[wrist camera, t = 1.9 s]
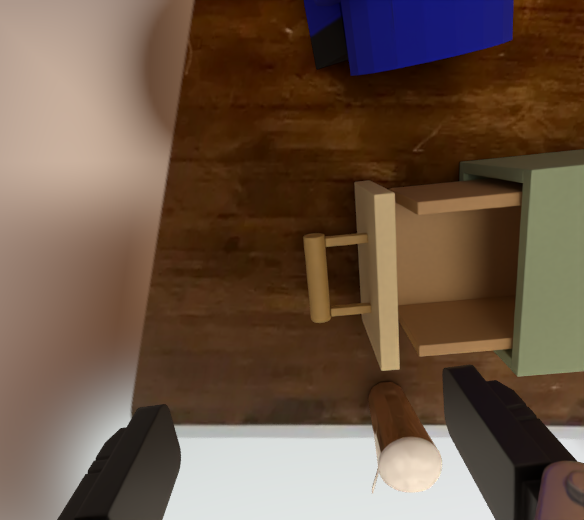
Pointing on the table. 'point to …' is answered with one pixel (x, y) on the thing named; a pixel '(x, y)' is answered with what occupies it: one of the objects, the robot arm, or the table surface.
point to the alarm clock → (403, 31)
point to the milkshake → (401, 441)
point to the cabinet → (545, 259)
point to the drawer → (429, 266)
